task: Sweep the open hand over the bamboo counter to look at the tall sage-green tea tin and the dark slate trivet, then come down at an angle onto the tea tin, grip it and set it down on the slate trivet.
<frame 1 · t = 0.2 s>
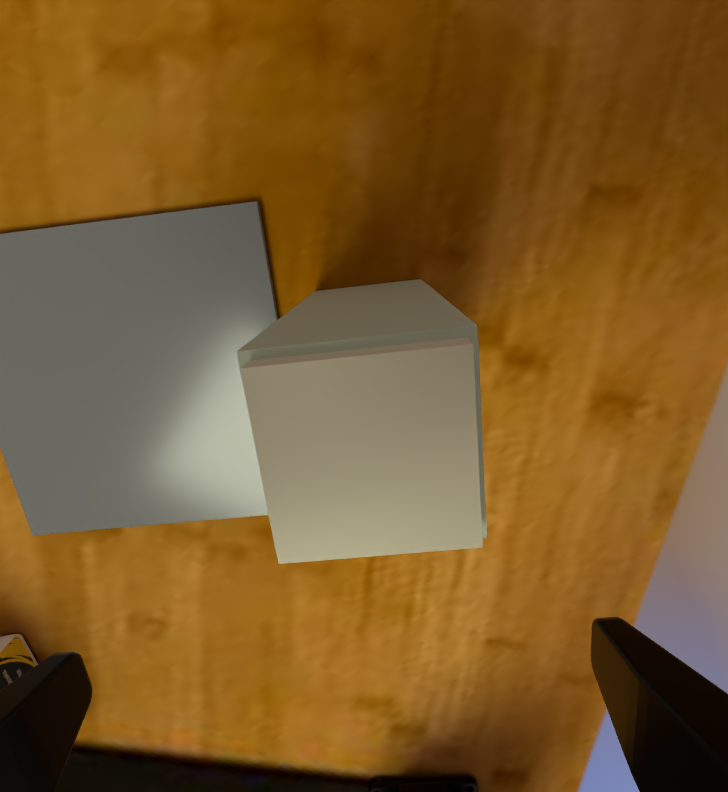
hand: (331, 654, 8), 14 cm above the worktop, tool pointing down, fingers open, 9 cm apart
tea tin: (373, 337, 21), on the worktop
slate trivet: (136, 385, 22), on the worktop
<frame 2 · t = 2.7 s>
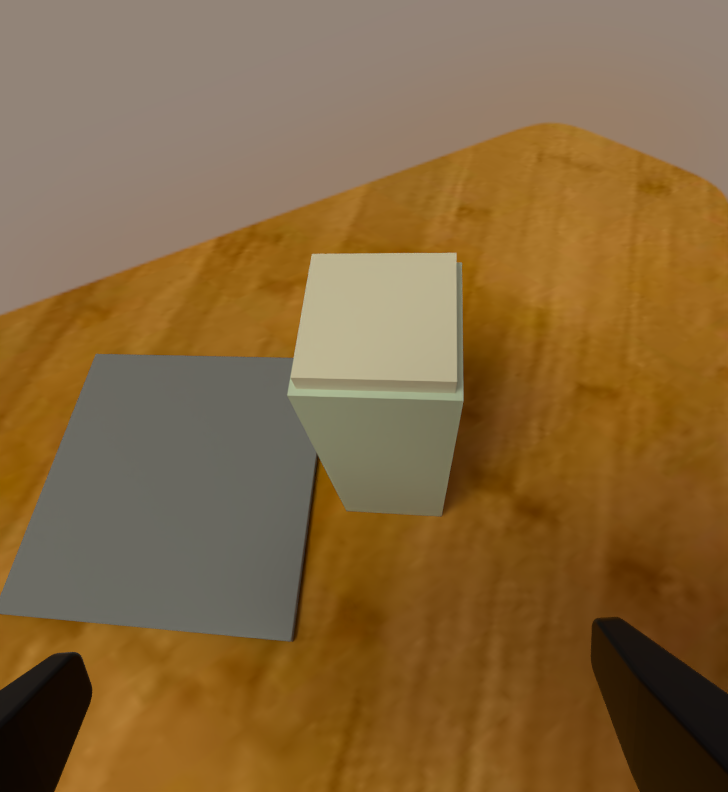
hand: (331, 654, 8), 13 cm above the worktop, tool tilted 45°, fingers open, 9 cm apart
tea tin: (395, 468, 24), on the worktop
slate trivet: (180, 476, 25), on the worktop
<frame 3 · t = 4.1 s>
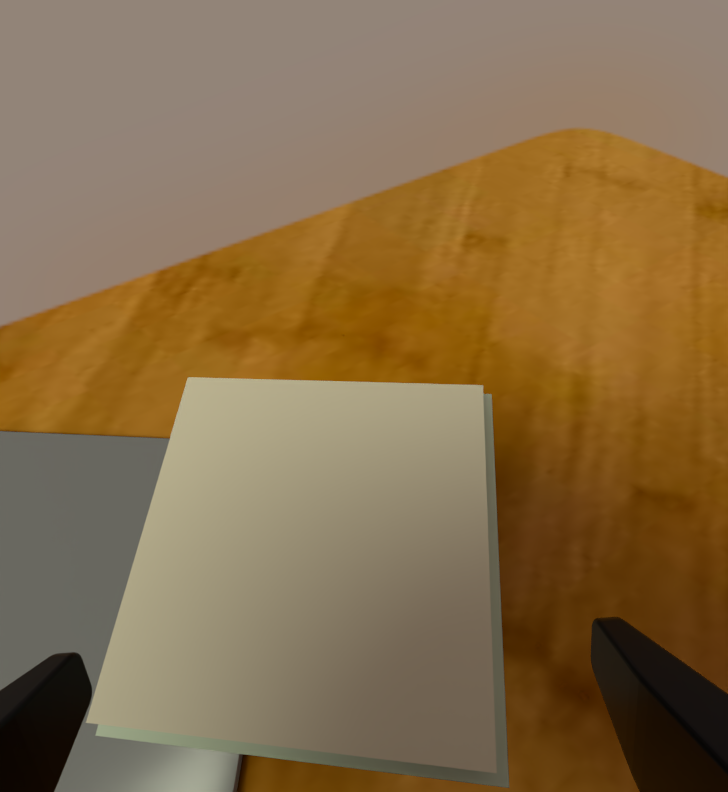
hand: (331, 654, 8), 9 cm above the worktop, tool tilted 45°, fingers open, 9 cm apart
tea tin: (379, 614, 17), on the worktop
slate trivet: (76, 618, 18), on the worktop
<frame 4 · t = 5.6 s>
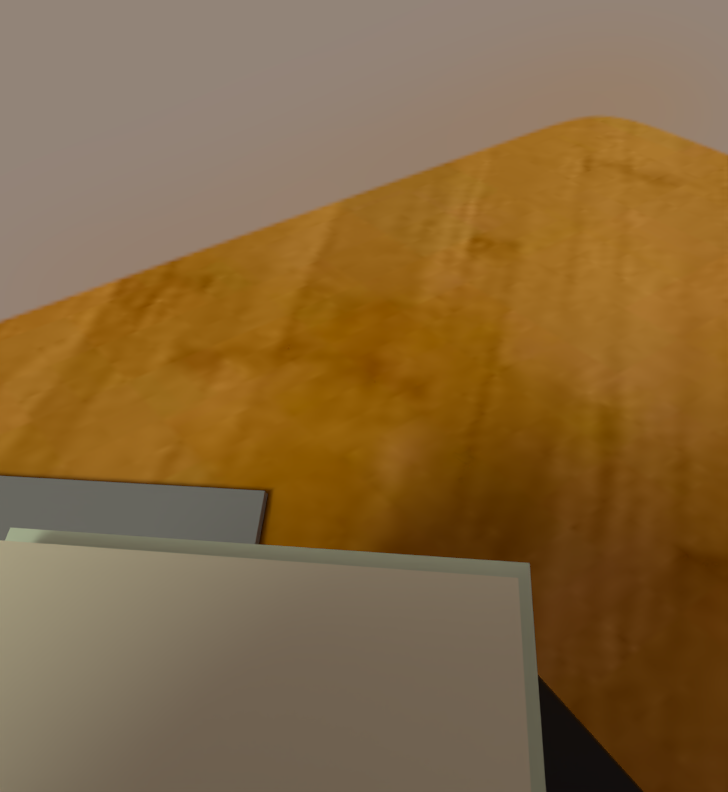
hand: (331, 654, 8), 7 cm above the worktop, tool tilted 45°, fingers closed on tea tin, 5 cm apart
tea tin: (368, 710, 14), on the worktop, touching gripper
slate trivet: (0, 709, 14), on the worktop
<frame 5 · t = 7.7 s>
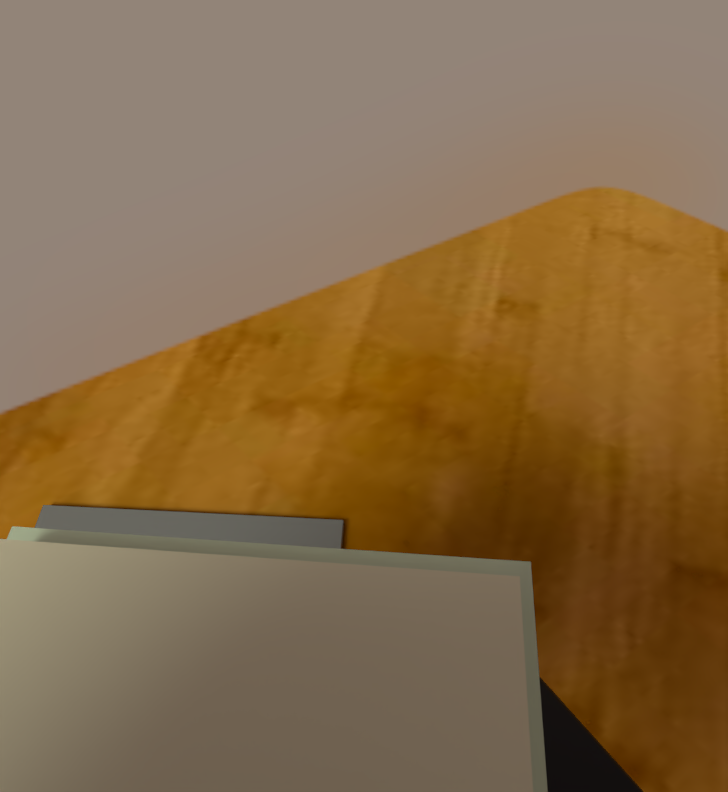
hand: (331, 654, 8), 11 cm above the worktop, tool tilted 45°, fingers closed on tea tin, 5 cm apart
tea tin: (368, 709, 14), point 5 cm above the worktop, touching gripper
slate trivet: (148, 696, 19), on the worktop
when the fingers open (8 cm above the worktop, at t = 9.9 s): tea tin drops 1 cm, resting on slate trivet.
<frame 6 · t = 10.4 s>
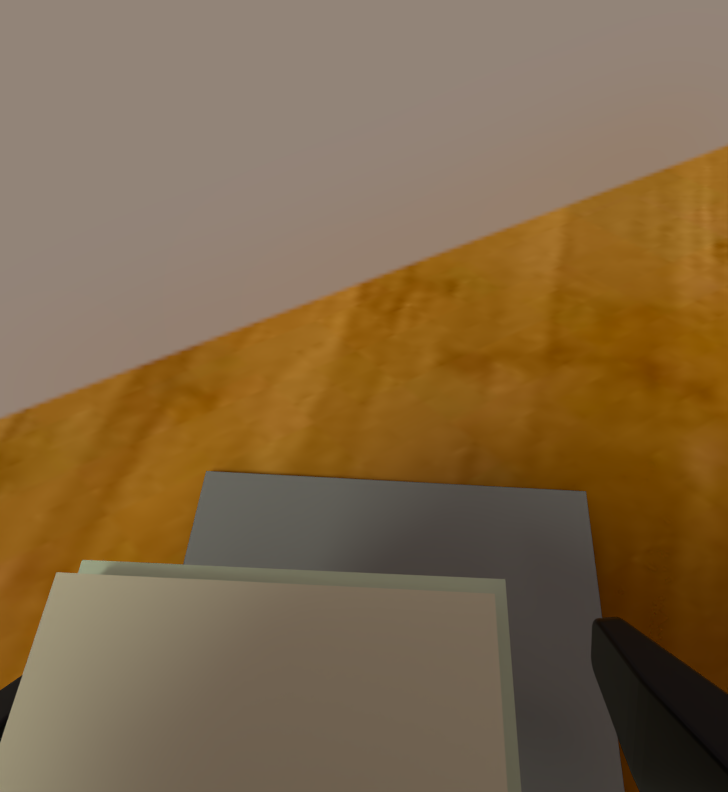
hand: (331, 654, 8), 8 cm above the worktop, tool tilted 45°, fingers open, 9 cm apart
tea tin: (369, 705, 15), resting on slate trivet
slate trivet: (373, 703, 15), on the worktop
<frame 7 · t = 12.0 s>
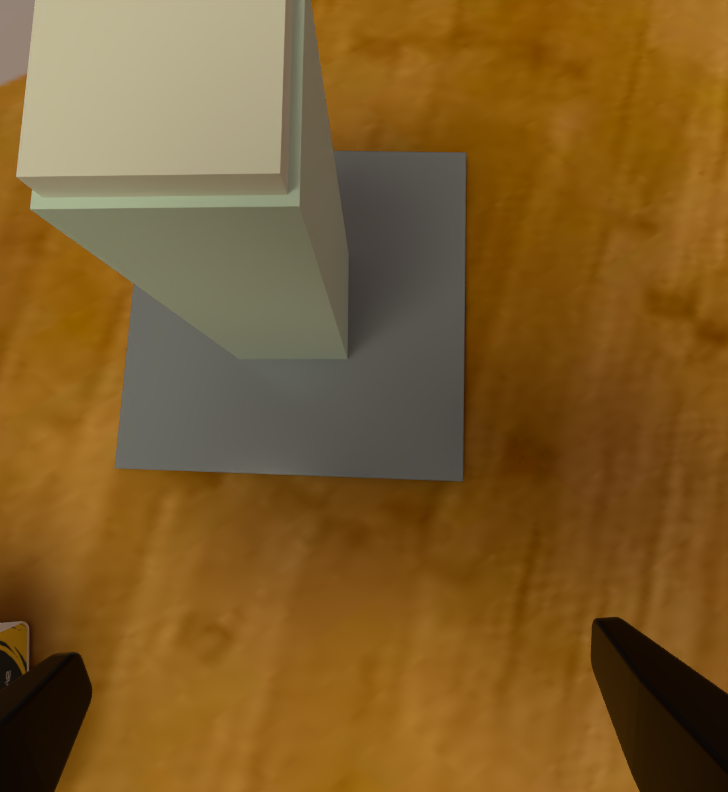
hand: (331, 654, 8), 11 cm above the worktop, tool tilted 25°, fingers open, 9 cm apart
tea tin: (294, 306, 20), resting on slate trivet
slate trivet: (297, 308, 21), on the worktop
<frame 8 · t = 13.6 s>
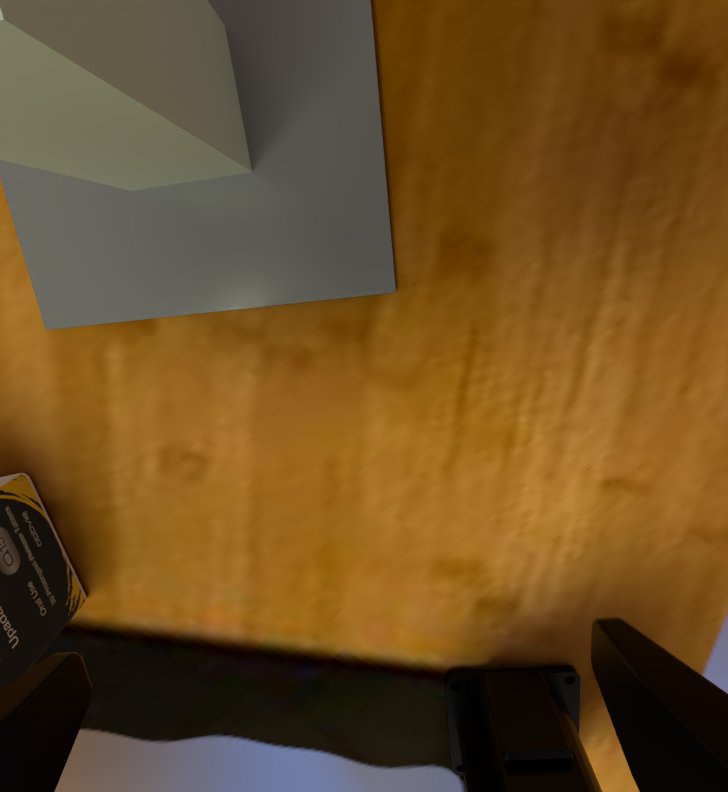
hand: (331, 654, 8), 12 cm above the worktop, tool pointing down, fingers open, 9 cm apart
tea tin: (176, 112, 17), resting on slate trivet
slate trivet: (182, 113, 17), on the worktop
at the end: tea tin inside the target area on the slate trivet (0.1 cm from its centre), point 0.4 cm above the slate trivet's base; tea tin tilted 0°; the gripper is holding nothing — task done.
